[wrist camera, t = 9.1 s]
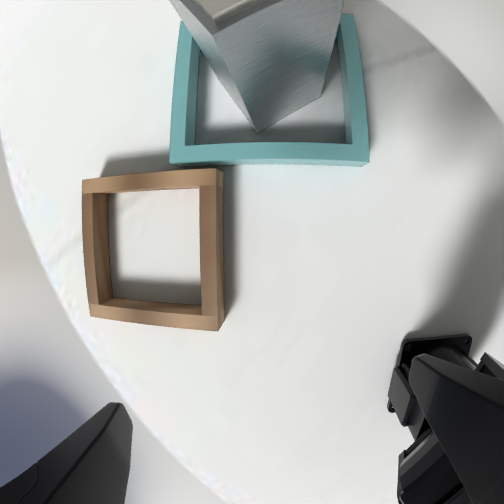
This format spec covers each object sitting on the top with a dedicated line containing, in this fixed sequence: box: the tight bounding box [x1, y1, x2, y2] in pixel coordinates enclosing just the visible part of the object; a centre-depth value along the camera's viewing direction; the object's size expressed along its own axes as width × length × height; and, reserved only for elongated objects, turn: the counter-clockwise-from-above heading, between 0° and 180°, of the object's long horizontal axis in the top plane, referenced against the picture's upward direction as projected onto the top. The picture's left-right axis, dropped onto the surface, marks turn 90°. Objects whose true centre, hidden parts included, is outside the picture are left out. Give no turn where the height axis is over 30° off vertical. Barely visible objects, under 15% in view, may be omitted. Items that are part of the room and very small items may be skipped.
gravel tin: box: [169, 0, 344, 134], centre depth 12 cm, size 5×5×12 cm
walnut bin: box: [82, 168, 225, 331], centre depth 19 cm, size 10×10×2 cm
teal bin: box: [169, 13, 369, 167], centre depth 17 cm, size 12×11×2 cm
